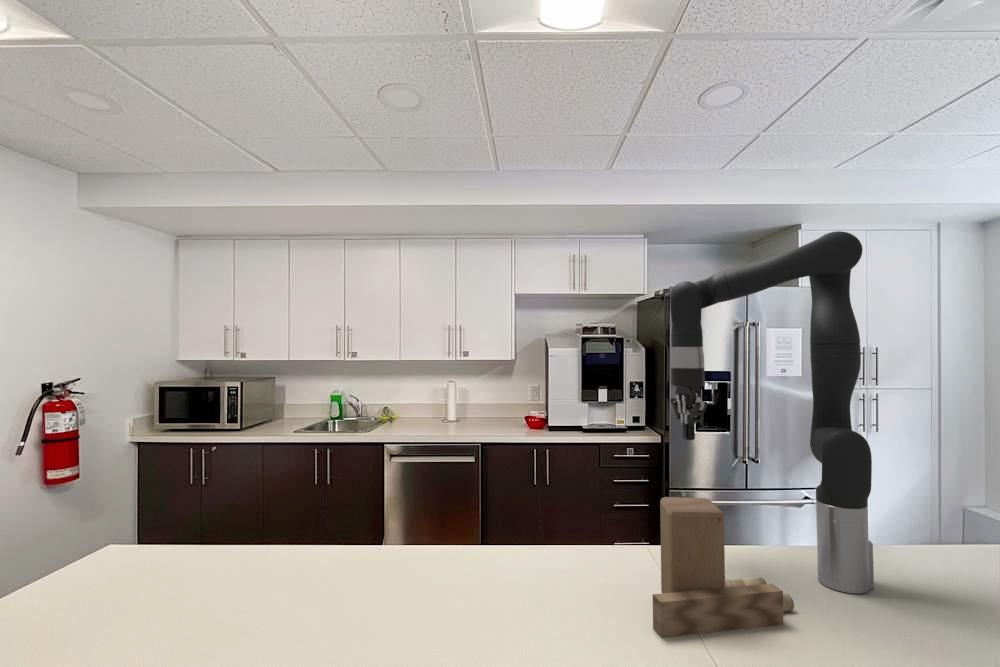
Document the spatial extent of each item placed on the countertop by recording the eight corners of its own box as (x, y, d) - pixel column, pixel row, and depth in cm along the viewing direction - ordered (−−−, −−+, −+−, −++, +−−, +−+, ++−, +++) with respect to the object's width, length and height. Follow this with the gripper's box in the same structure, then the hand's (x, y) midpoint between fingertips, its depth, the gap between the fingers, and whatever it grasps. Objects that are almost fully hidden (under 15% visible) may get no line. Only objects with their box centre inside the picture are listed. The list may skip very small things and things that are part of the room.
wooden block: (727, 621, 95) (725, 511, 96) (671, 619, 96) (670, 510, 97) (710, 596, 105) (709, 496, 106) (660, 593, 106) (659, 495, 107)
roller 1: (770, 591, 105) (762, 595, 107) (763, 575, 107) (756, 579, 109) (725, 595, 103) (718, 599, 105) (719, 579, 105) (713, 583, 107)
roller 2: (784, 608, 101) (781, 592, 101) (795, 612, 98) (792, 595, 99) (738, 613, 99) (735, 596, 100) (748, 617, 96) (745, 600, 97)
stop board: (772, 616, 97) (771, 583, 97) (783, 624, 94) (782, 590, 94) (653, 628, 93) (652, 594, 93) (661, 637, 90) (660, 602, 90)
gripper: (718, 366, 117) (719, 443, 116) (687, 365, 130) (688, 434, 129) (687, 367, 116) (689, 445, 115) (659, 365, 129) (660, 435, 128)
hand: (688, 439), depth 122 cm, fingers closed
